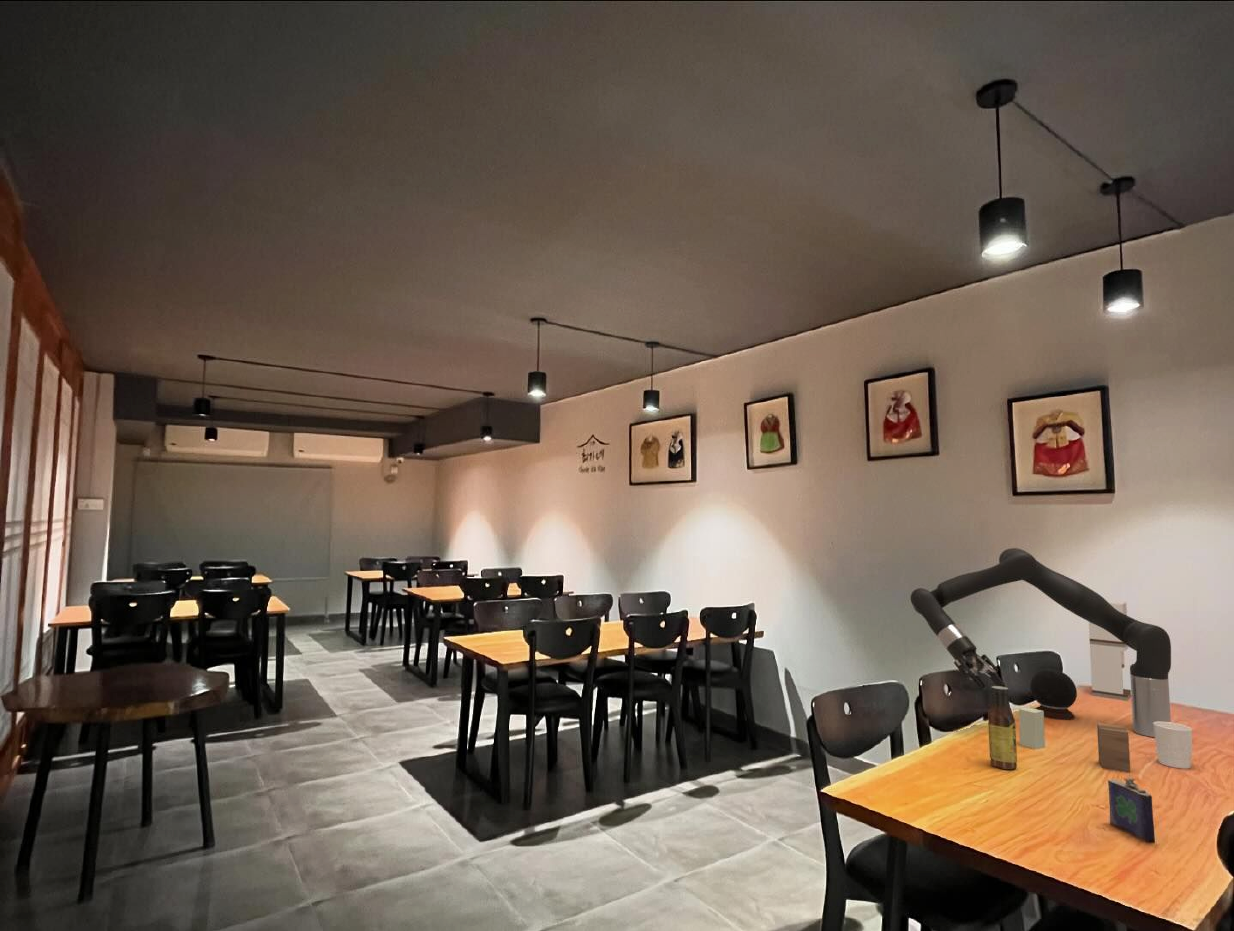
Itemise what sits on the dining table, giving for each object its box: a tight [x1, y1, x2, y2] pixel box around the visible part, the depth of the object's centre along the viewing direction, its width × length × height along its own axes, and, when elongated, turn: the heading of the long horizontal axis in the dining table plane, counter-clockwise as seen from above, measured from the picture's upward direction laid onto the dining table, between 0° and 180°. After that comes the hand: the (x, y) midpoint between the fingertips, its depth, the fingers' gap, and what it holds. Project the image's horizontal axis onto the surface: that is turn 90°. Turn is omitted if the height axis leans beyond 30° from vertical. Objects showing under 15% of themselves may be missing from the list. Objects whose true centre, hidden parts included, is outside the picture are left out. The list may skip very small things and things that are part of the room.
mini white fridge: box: [1088, 601, 1131, 702], centre depth 254 cm, size 11×11×35 cm
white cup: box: [1153, 722, 1193, 770], centre depth 177 cm, size 8×8×10 cm
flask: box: [1107, 777, 1156, 844], centre depth 136 cm, size 9×3×11 cm, turn 8°
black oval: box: [1029, 668, 1078, 721], centre depth 223 cm, size 13×13×15 cm
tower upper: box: [1096, 722, 1130, 753], centre depth 174 cm, size 6×6×5 cm
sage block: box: [1018, 706, 1046, 750], centre depth 190 cm, size 4×4×10 cm
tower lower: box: [1097, 743, 1131, 774], centre depth 174 cm, size 6×6×5 cm
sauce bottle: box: [987, 685, 1018, 770], centre depth 174 cm, size 7×6×20 cm
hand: (993, 687), depth 200 cm, fingers open, 8 cm apart
